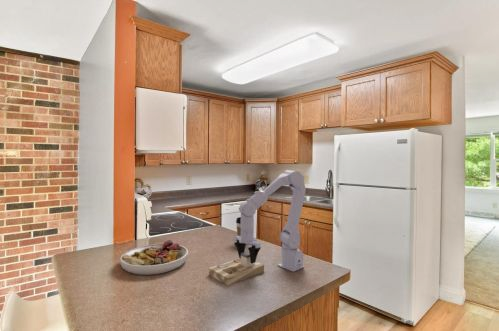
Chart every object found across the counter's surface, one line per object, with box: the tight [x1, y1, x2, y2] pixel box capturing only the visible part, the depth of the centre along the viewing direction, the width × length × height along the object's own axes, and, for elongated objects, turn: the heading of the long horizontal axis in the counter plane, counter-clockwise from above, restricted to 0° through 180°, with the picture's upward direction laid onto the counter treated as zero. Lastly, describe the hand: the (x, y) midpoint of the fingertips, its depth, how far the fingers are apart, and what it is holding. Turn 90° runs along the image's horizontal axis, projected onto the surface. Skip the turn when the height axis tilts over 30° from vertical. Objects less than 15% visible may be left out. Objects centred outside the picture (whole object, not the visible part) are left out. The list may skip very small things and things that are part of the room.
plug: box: [241, 250, 254, 268], centre depth 121 cm, size 4×4×8 cm
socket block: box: [208, 257, 265, 286], centre depth 119 cm, size 13×20×3 cm, turn 132°
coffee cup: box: [235, 216, 241, 236], centre depth 161 cm, size 8×8×15 cm
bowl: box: [119, 239, 189, 276], centre depth 130 cm, size 30×30×8 cm
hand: (247, 260), depth 121 cm, fingers open, 7 cm apart
